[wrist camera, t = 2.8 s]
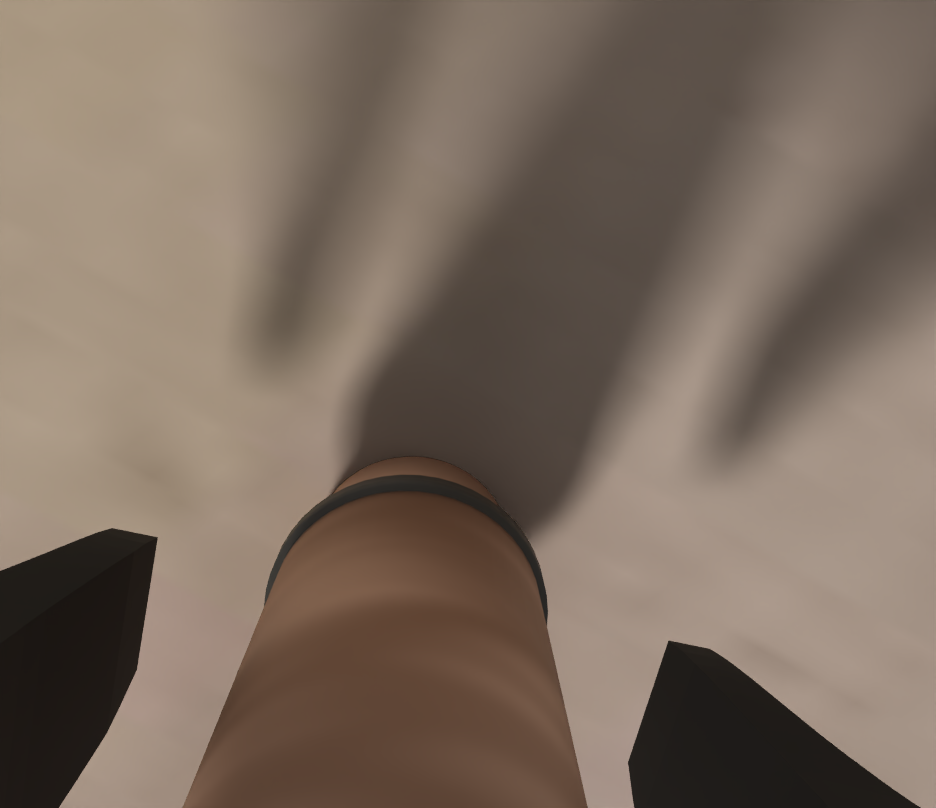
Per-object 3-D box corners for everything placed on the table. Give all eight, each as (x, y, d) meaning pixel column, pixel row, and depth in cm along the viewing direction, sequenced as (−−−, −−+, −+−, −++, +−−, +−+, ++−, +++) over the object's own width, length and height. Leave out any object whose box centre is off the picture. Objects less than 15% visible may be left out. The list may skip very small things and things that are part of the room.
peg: (558, 463, 15) (721, 881, 6) (499, 674, 16) (567, 1284, 7) (316, 409, 14) (127, 774, 6) (271, 630, 16) (55, 1217, 7)
